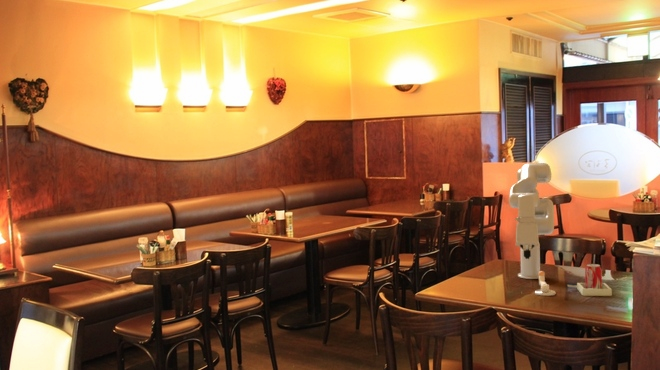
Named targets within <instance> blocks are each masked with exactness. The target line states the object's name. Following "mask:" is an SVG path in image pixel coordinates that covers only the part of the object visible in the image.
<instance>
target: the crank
mask: <svg viewBox="0 0 660 370" xmlns="http://www.w3.org/2000/svg"><path fill="white" fill-rule="evenodd" d="M538 275H539V279H538V285H539V286H540V289H541V291H542V292H549V290H550V284H547V282H546V281H545V280H546V279H545V276H546V272H545V271H544V270H540V272H539V273H538Z"/></svg>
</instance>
